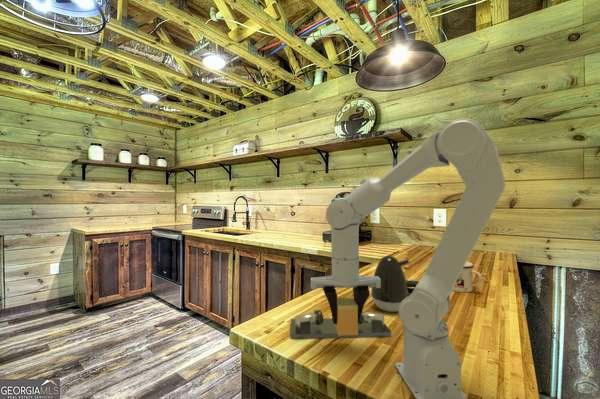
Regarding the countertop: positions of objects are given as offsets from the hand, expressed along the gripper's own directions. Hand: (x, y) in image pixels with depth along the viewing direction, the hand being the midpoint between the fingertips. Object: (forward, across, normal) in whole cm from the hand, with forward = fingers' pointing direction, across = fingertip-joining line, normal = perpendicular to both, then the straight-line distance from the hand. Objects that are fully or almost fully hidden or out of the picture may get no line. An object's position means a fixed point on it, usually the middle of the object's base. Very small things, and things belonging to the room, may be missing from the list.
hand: (345, 321), depth 59 cm
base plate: (+6, 0, -9) cm, 10 cm away
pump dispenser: (+6, -17, -21) cm, 27 cm away
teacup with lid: (+6, -48, -36) cm, 60 cm away
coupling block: (+2, 0, 0) cm, 2 cm away
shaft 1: (+6, +7, -6) cm, 11 cm away
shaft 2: (+5, -7, -7) cm, 11 cm away
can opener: (+6, -26, -32) cm, 41 cm away
